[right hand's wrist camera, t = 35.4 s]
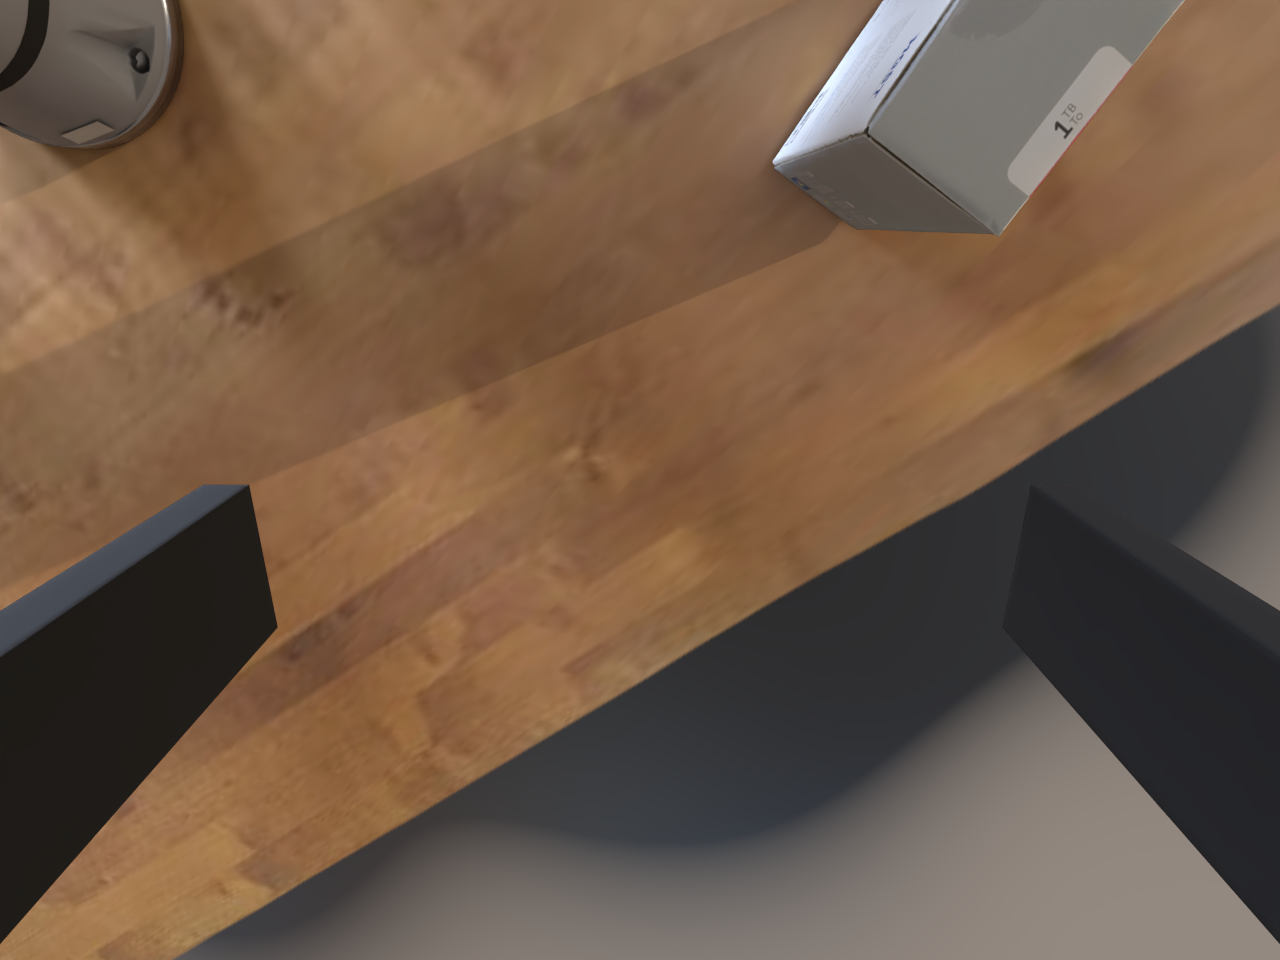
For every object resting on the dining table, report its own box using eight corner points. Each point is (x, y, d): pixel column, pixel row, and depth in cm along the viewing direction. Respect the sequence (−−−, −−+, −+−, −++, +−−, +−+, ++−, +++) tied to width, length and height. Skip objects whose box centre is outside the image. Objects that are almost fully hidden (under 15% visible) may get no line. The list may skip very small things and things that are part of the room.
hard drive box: (858, 234, 49) (993, 246, 30) (768, 165, 47) (851, 134, 29) (1020, 12, 44) (1297, -134, 26) (926, -71, 43) (1148, -290, 24)
